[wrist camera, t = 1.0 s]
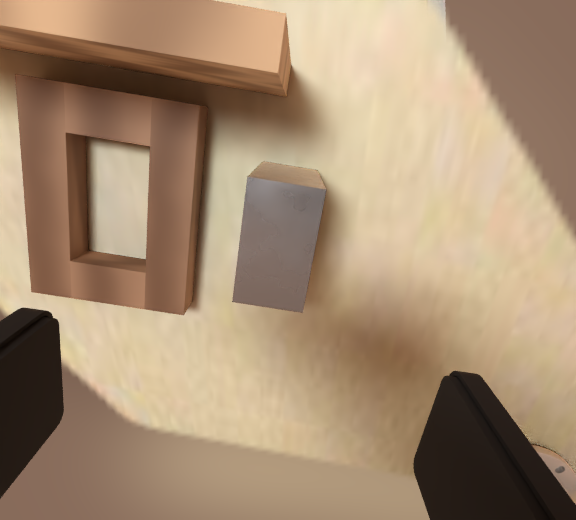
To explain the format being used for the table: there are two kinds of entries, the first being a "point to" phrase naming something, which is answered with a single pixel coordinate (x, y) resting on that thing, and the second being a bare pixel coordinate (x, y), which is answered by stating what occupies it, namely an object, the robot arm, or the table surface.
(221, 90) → the table surface
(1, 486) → the robot arm
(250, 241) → the tall grey rectangular prism
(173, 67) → the wooden backboard stand
